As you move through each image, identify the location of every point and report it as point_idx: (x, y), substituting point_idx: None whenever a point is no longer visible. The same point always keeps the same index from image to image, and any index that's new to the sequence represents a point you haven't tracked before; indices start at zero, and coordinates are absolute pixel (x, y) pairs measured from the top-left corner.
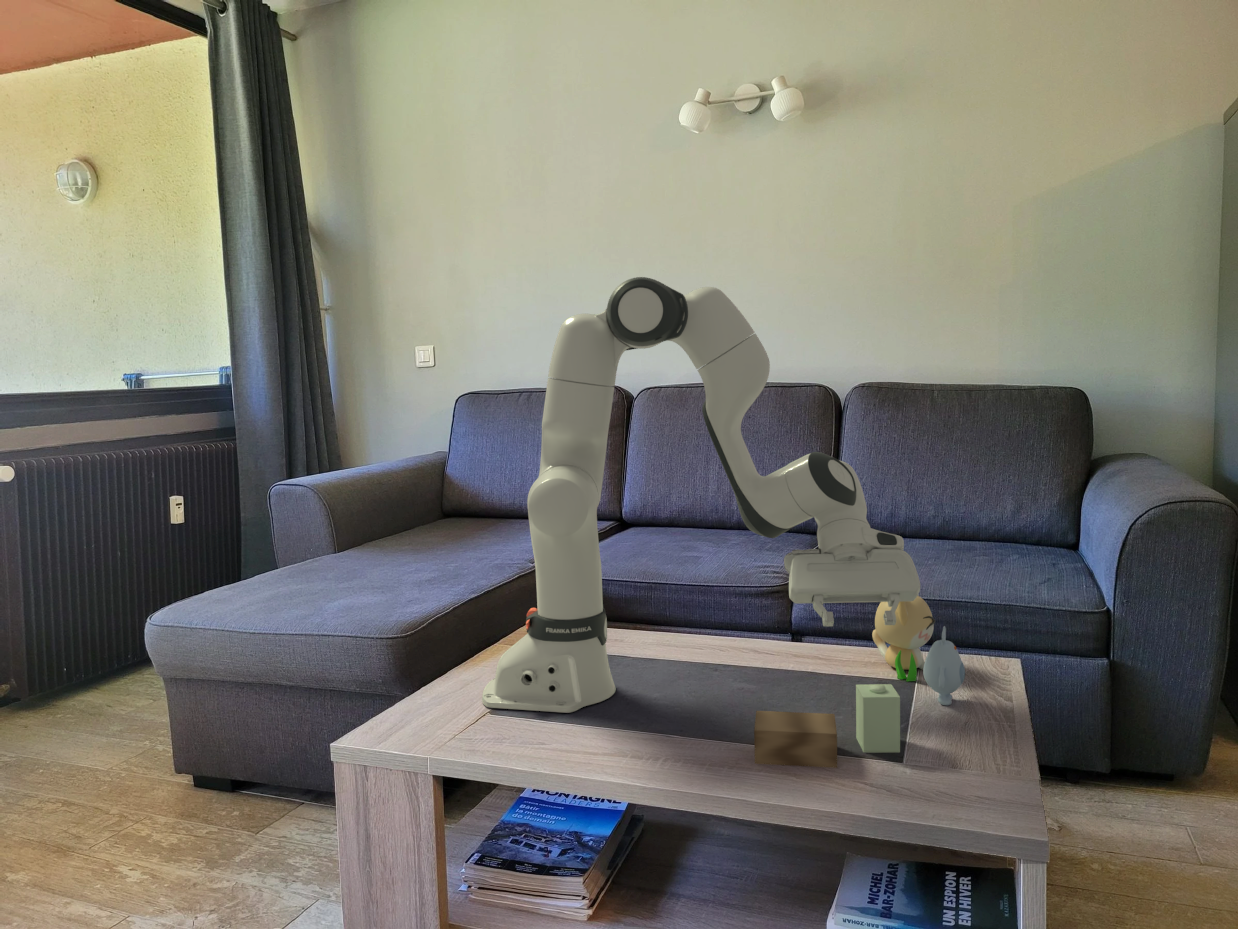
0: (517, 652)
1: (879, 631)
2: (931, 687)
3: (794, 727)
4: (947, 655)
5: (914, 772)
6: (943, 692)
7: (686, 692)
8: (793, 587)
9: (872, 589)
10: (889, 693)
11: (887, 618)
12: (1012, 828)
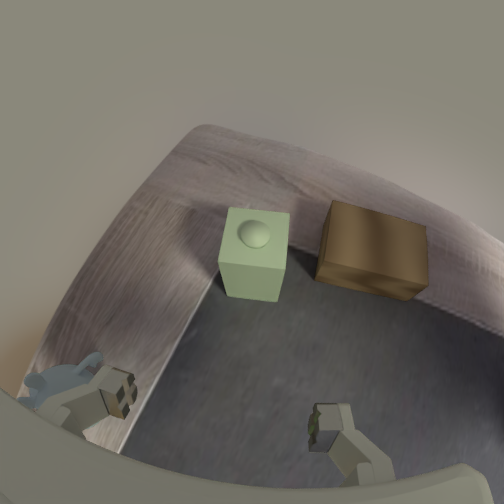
0: None
1: None
2: None
3: (383, 225)
4: (54, 371)
5: (240, 205)
6: None
7: (460, 462)
8: (481, 475)
9: (109, 457)
10: (240, 221)
11: (126, 374)
12: (208, 129)
